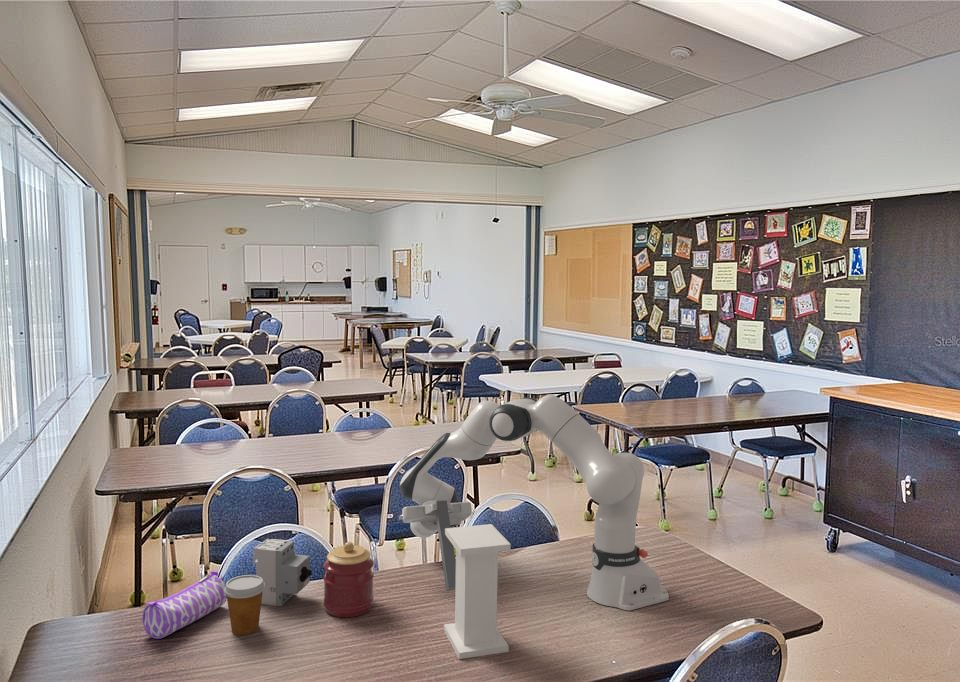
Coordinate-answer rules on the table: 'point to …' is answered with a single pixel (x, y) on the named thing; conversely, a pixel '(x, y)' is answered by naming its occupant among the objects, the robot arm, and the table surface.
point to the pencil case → (184, 606)
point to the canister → (348, 581)
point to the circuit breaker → (280, 570)
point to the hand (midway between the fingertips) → (442, 506)
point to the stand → (476, 591)
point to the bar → (446, 545)
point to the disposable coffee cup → (244, 603)
